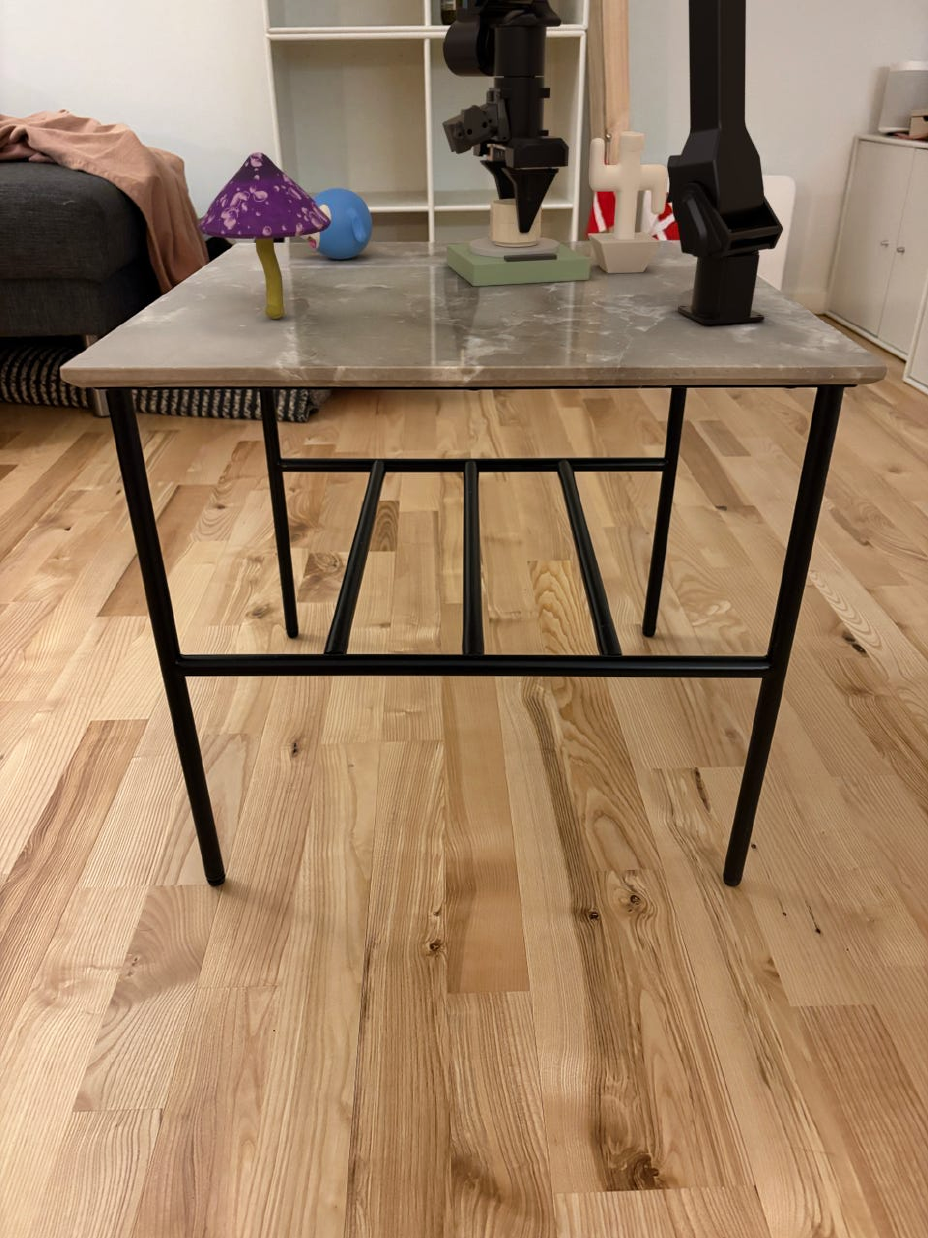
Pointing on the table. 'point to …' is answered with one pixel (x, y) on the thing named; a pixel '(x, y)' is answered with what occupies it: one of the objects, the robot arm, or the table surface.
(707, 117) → the robot arm
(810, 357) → the table surface
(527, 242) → the beige wooden cup
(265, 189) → the decorative mushroom
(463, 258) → the scale
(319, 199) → the blue mole toy
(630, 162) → the figurine
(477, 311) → the table surface
